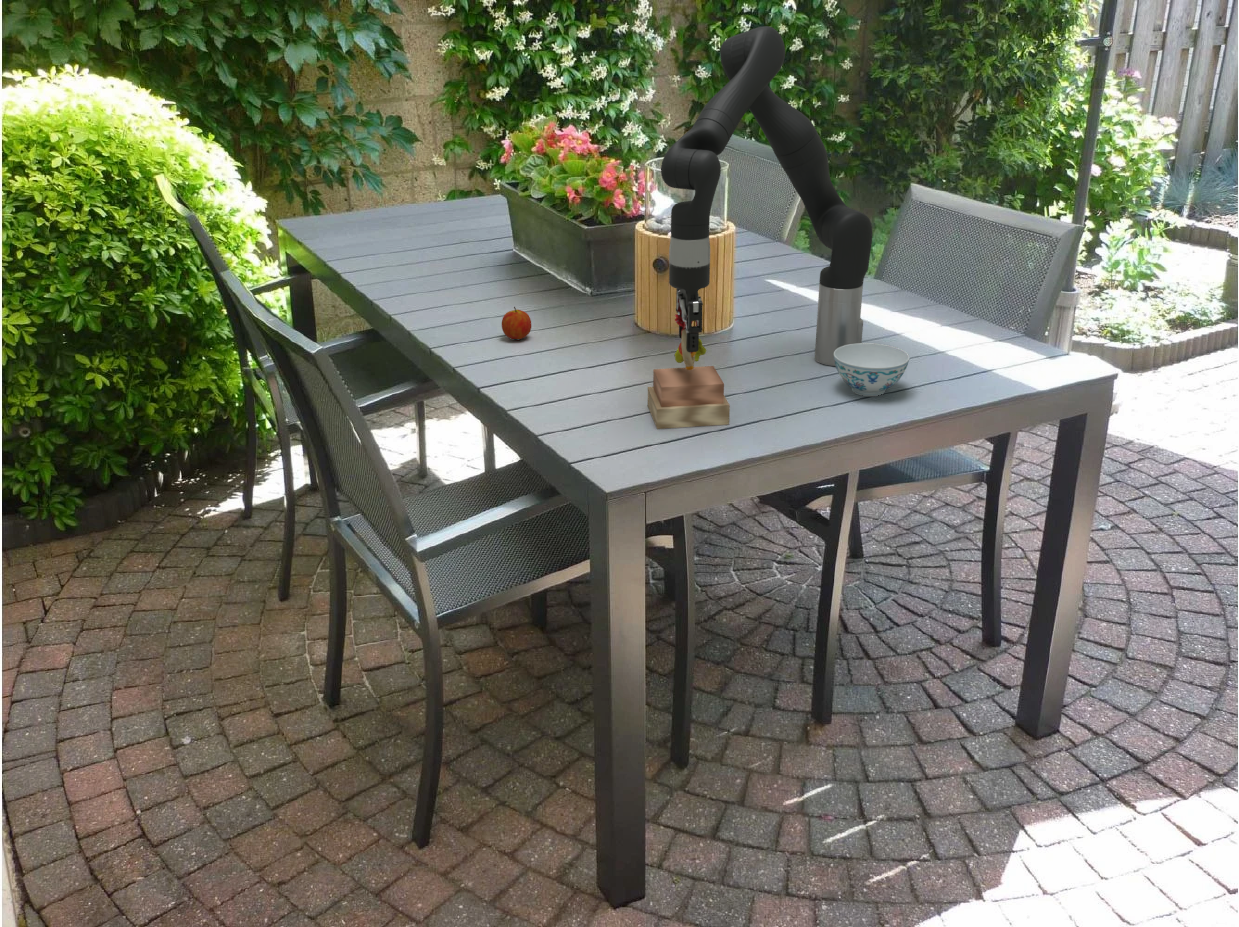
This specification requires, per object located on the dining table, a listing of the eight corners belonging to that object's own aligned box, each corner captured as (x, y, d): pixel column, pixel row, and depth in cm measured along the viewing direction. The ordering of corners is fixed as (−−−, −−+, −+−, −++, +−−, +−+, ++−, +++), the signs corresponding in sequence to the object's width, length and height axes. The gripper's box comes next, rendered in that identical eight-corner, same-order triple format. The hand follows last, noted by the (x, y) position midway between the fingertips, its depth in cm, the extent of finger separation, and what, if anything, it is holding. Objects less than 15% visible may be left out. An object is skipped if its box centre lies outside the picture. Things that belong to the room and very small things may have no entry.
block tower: (716, 401, 224) (717, 363, 220) (729, 424, 213) (730, 385, 210) (647, 405, 222) (647, 367, 219) (657, 428, 212) (657, 389, 208)
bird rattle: (706, 379, 213) (706, 347, 219) (706, 336, 205) (706, 304, 211) (673, 379, 213) (674, 347, 219) (672, 336, 205) (673, 304, 211)
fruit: (520, 332, 266) (519, 300, 262) (537, 339, 261) (536, 306, 257) (496, 338, 262) (494, 305, 258) (513, 345, 257) (511, 312, 253)
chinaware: (879, 373, 237) (882, 339, 234) (920, 397, 224) (924, 361, 221) (817, 383, 232) (820, 348, 229) (856, 408, 220) (859, 371, 216)
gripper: (717, 269, 199) (715, 356, 206) (702, 249, 212) (700, 331, 219) (676, 271, 198) (675, 358, 205) (663, 251, 211) (662, 333, 218)
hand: (688, 344), depth 212 cm, fingers closed on bird rattle, 7 cm apart
